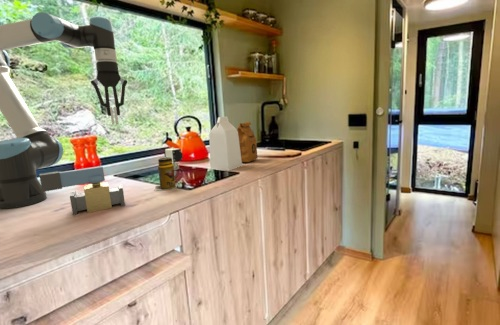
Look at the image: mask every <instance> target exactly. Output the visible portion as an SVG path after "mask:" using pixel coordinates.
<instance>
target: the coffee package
mask: <svg viewBox="0 0 500 325" xmlns="http://www.w3.org/2000/svg"><path fill="white" fill-rule="evenodd" d="M251 125H252V123H251V121H247V122H244V123H243V122H240V123H239V125H238V127H237V128H236V129H237V131H238V136H239V144H240V153H241V161H242V164H243V163H250V162H253V161H257V159H258V149H257V147H258V146H257V145H258V144H257V143H258V142H257V139H256V138H257V137H256V135H255V134H254V132H253V131H252V129H251Z"/></svg>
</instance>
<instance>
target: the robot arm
mask: <svg viewBox="0 0 500 325" xmlns="http://www.w3.org/2000/svg"><path fill="white" fill-rule="evenodd" d="M114 33H115V32H114V28H113V24H112V21H111V20H110V19H109V18H107V17H103V16H93V17H91V18H89V24H85V25H83V24H82V25H76V24H73V23H71V22H69V21H67V20H65V19H62V18H60V17H58V16H56V15H55V14H53V13H52V14H51V13H47V12H44V11H39V12H38V11H37V12H36V13H35V14H34V15H33V16H32V17H31V19H26V20H21V21H16V22H9V23H4V24H0V112H1V114H2V115H3V117H4V118H5V120H6V122H7V123H8V125H9V127H10V128H11V130H12V131H13V133H14V134H15V138H14V137H13V138H8V139H3V140H0V209H1V210H2V209H14V208H22V207H26V206H30V205H33V204H37V203H40V202H43V201H44V200H46V199H47V191H45V192H42V187H41V181H39V178H38V176H37V170H40V169H44V168H48V167H51V166H53V165H55V164H58V162H60V161H61V159H62V158H63V155H64V148H63V145H62V143H61V142H60V140H59V139H58V138H54V137H52V136H50V134H49V133H48V131H47V130H46V129H44V128H41V127H40V126H39V124H38V122H37V120H36V119H35V117H34V116H33V114H32V112H31V111H30V109H29V108H28V105H27V104H26V102H25V101H24V99H23V98H22V96H21V94H20V92H19V91H18V89H17V87H16V85H15V84H14V82H13V81H12V79H11V77H10V75H9V74H10V71H11V69H10V64H11V63H10V61H11V60H10V56H9V54H8V52H7V51H8V50H13V49H17V48H23V47H28V46H34V45H39V44H45V43H50V42H59V44H60V45H61V46H62V47H64V48H66V49H79V48H81V49H82V48H92V47H93V53H94V60H95V61H96V63H95V66H96V73H97V74H96V76H95V79H93V80H92V79H91V81H90V84H91V85H92V87H94V90H95V93H96V95H97V98H98V101H99V103H100V106H101V107H104V108H106V112H107V113H106V114H107V116H109V117H110V119H111V120H110V121H111V125H115V124H116V125H119V118H118V116H121V110H120V107H122V106H123V105H124V104H125V95H126V94H125V92H126V85H127V83H128V80H127V79H123V78H121V75H120V73H119V72H120V71H119V65H118V58H117V51H116V45H115V35H114ZM6 50H7V51H6ZM99 83H100V84H101V85H102V86H103V87H104V88H103V89H104V97H105V102H104V100H103V97H102V94H101V91H100V89H99V86H98V85H99ZM119 83H120V85H121V89H120V102H119V98H118V96H119V95H118V92H117V91H118V90H117V86H118V84H119ZM109 88H112V93H113V99H114V105H115V106H114V107H111V105H110V104H111V103H110V95H109Z"/></svg>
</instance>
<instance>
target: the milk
mask: <svg viewBox="0 0 500 325" xmlns="http://www.w3.org/2000/svg"><path fill="white" fill-rule="evenodd" d="M229 121H230V120H229V117H228V116H221V117H220V116H219V117H217V121H216V124H215V125H214V126H213V127H212V129H211V130H210V132H209V134H208V136H209V158H210V159H209V162H210V166H209V168H210V170H213V169H216V171H226V170H228V172H229V171H232V170H234V169H237V167H238V168H241V167H243V163H242V161H241V153H240V144H239V136H238V131H237V129H238V128H237V127H235V126H234V125H233V124H232V123H231V122H229ZM240 166H241V167H240Z"/></svg>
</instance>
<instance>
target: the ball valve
mask: <svg viewBox="0 0 500 325" xmlns="http://www.w3.org/2000/svg"><path fill="white" fill-rule="evenodd" d="M83 191H84V192H81V193H77V192H76V190H75V191H71V192H70V195H69V199H70V206H71V210H72V215H73V216H74V215H78V213H79V211H85V210H86V211H87V213H93V212H99V211H104V210H108V209H110V210H111V209H113V208H112V207H113V206H112V205H118V204H120V205H121V207H124V206H126V201H125V195H124V188H123V184H117V187H114V188H110V186H109V182H108V181H102V182H99V183H89V184H84V188H83Z"/></svg>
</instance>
